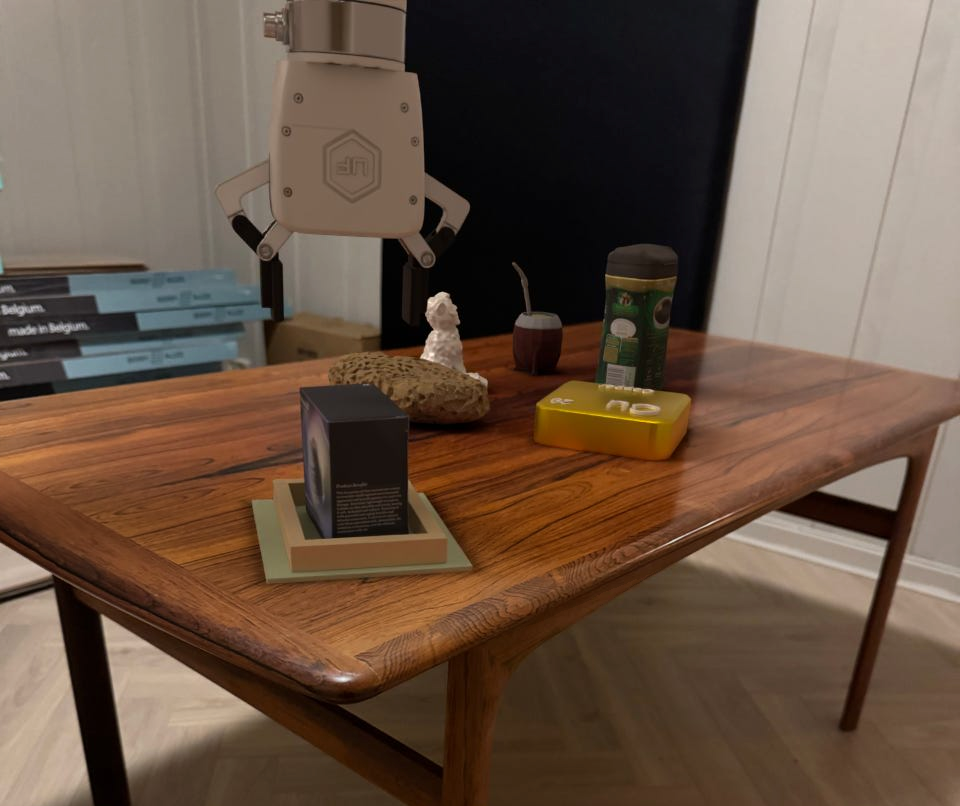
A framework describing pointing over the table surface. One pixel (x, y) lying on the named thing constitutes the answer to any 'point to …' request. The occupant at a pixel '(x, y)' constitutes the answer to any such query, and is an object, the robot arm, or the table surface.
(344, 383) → the sponge
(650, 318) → the coffee jar
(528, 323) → the mate gourd
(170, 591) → the table surface
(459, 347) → the white creature statuette
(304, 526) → the tan shallow square tray
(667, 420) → the element tile
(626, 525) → the table surface
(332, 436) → the small box
